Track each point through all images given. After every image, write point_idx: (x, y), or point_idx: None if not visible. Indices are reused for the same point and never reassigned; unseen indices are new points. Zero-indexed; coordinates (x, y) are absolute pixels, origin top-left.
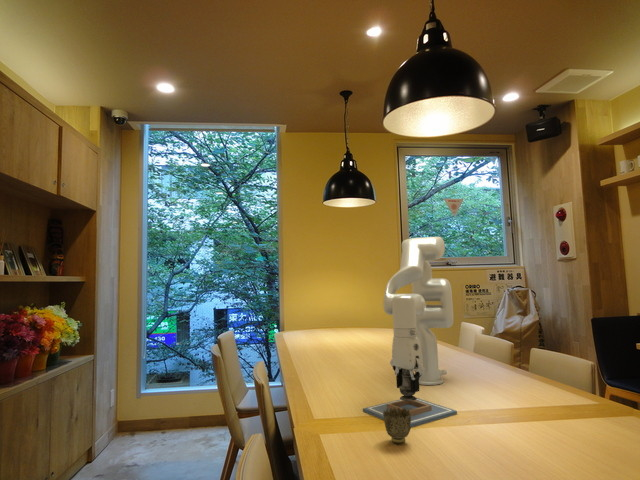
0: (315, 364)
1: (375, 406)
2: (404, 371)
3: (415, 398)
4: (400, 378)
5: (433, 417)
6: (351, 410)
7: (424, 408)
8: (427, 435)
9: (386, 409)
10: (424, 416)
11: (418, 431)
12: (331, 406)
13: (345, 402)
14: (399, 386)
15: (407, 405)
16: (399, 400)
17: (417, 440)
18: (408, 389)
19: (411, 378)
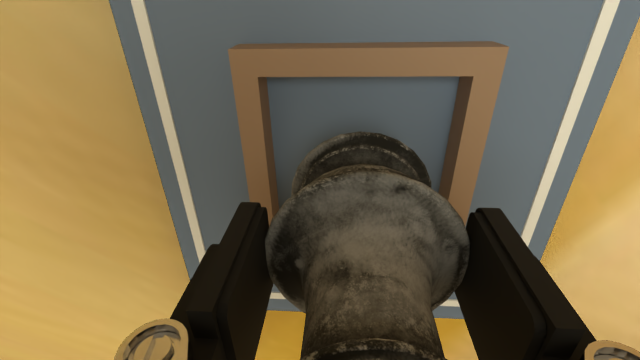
0: None
1: None
2: None
3: (415, 167)
4: (249, 338)
5: (585, 147)
6: (167, 316)
7: (486, 127)
8: (635, 291)
9: None
10: (523, 176)
11: (573, 287)
12: (82, 337)
13: (37, 277)
14: (295, 301)
15: (283, 104)
16: (154, 71)
17: (618, 341)
18: (434, 308)
19: (440, 346)
